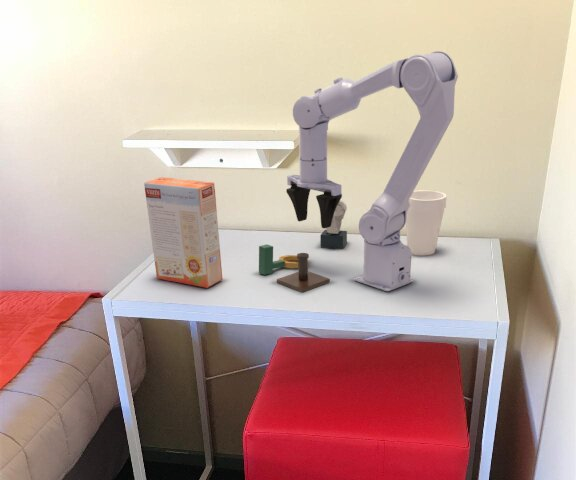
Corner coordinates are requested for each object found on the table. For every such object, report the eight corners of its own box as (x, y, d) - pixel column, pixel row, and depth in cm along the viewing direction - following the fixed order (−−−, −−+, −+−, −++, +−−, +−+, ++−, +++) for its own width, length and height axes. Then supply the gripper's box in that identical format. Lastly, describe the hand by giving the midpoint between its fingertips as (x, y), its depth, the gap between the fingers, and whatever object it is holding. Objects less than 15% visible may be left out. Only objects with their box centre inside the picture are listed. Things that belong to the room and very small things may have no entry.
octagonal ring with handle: (293, 261, 154) (294, 235, 152) (312, 267, 150) (314, 241, 148) (252, 270, 147) (252, 243, 144) (270, 277, 143) (271, 250, 140)
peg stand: (330, 282, 140) (330, 254, 137) (302, 292, 135) (301, 264, 132) (304, 273, 145) (303, 246, 142) (276, 282, 141) (275, 254, 138)
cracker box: (224, 280, 143) (215, 181, 132) (207, 289, 138) (197, 188, 128) (173, 270, 149) (161, 175, 139) (155, 279, 145) (142, 181, 134)
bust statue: (348, 241, 164) (349, 196, 158) (341, 251, 157) (341, 204, 152) (326, 239, 165) (326, 195, 160) (318, 249, 159) (318, 203, 153)
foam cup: (442, 258, 151) (447, 200, 144) (400, 257, 152) (404, 200, 146) (440, 245, 159) (445, 190, 152) (401, 244, 160) (404, 189, 154)
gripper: (275, 157, 139) (278, 221, 146) (323, 166, 129) (324, 234, 136) (300, 151, 143) (301, 214, 150) (349, 160, 133) (348, 227, 140)
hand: (314, 223), depth 143 cm, fingers open, 7 cm apart
